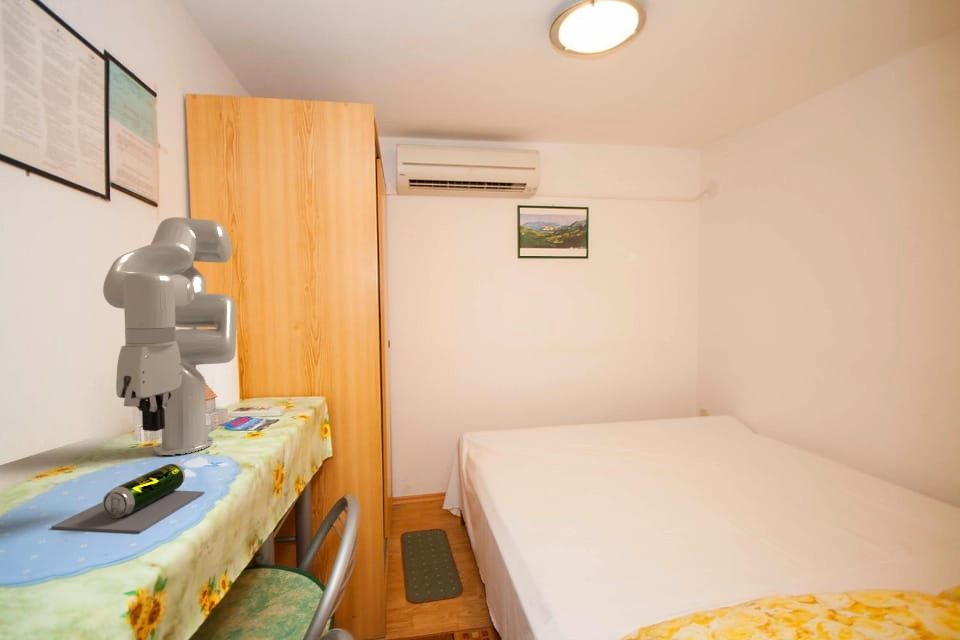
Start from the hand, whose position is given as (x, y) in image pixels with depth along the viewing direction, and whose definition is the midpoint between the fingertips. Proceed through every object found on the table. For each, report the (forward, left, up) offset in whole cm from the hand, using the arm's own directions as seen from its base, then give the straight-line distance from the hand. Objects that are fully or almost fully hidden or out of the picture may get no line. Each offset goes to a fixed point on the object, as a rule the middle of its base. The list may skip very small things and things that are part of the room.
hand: (153, 429), depth 77 cm
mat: (+5, 0, -14) cm, 14 cm away
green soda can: (-3, +1, -11) cm, 11 cm away
